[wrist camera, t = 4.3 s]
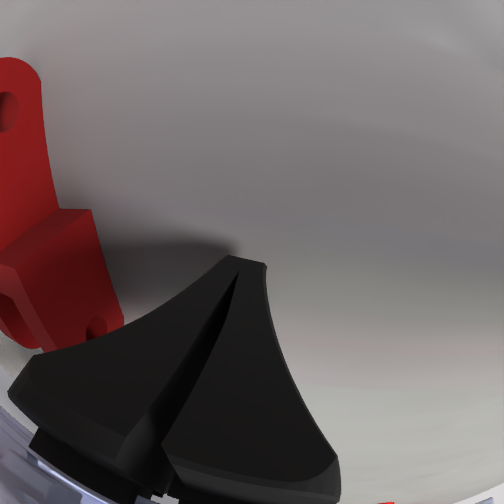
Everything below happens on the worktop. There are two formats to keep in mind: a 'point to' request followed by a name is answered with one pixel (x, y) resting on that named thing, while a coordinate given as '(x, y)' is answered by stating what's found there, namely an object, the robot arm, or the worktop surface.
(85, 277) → the mechanical linkage
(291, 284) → the worktop surface
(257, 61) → the worktop surface
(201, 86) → the worktop surface
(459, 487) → the worktop surface
